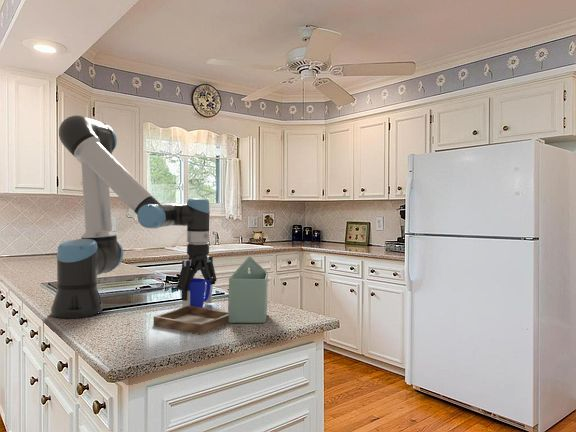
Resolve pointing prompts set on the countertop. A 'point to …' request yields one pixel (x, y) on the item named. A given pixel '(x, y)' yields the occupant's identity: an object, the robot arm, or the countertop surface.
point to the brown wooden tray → (192, 319)
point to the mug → (198, 292)
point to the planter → (248, 294)
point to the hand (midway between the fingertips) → (197, 305)
